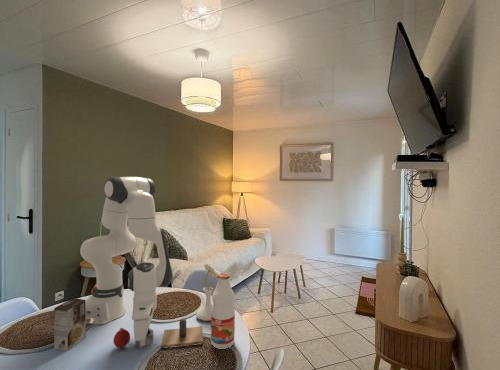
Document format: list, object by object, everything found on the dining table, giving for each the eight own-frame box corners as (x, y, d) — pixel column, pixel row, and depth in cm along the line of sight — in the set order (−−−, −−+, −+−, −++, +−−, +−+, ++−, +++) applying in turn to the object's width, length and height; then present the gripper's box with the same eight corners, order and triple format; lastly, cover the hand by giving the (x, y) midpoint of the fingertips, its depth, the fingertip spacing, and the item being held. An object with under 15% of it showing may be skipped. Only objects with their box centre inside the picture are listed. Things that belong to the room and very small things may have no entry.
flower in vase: (222, 320, 125) (223, 267, 125) (198, 325, 121) (199, 270, 121) (215, 308, 137) (216, 260, 137) (193, 312, 133) (194, 262, 133)
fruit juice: (238, 340, 110) (239, 272, 110) (227, 353, 101) (228, 280, 101) (218, 334, 114) (219, 269, 114) (206, 346, 105) (207, 276, 105)
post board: (160, 350, 103) (161, 327, 103) (164, 334, 114) (164, 314, 114) (202, 345, 107) (202, 324, 106) (202, 330, 117) (202, 310, 117)
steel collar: (134, 348, 104) (134, 338, 104) (137, 339, 110) (137, 329, 110) (151, 346, 105) (151, 336, 105) (154, 337, 111) (154, 327, 111)
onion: (125, 341, 108) (125, 322, 108) (132, 347, 104) (132, 327, 104) (110, 348, 103) (111, 328, 103) (117, 354, 100) (117, 333, 100)
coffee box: (72, 335, 112) (72, 297, 111) (86, 337, 110) (86, 299, 110) (53, 349, 103) (53, 307, 102) (67, 351, 101) (67, 309, 101)
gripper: (141, 294, 117) (141, 325, 117) (130, 318, 97) (130, 355, 97) (156, 293, 118) (156, 324, 118) (149, 316, 98) (148, 353, 98)
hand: (144, 338), depth 107 cm, fingers closed on steel collar, 6 cm apart
